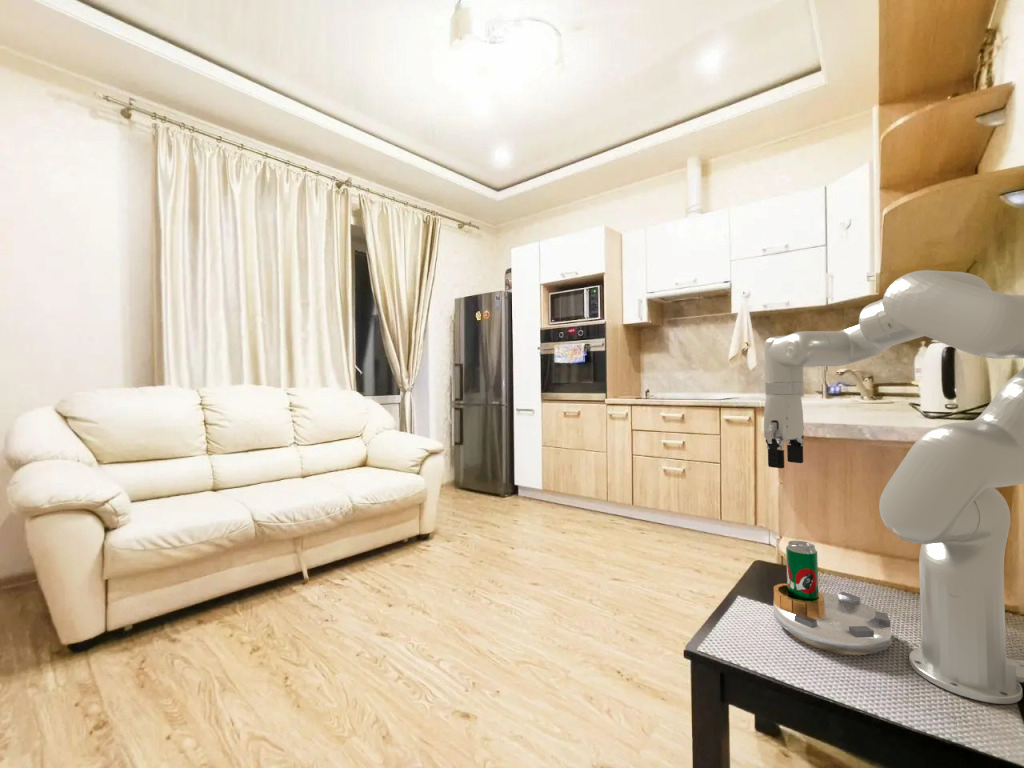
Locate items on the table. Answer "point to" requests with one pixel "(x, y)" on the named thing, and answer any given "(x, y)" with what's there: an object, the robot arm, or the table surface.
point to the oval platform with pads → (833, 621)
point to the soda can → (802, 571)
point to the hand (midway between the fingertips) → (786, 464)
